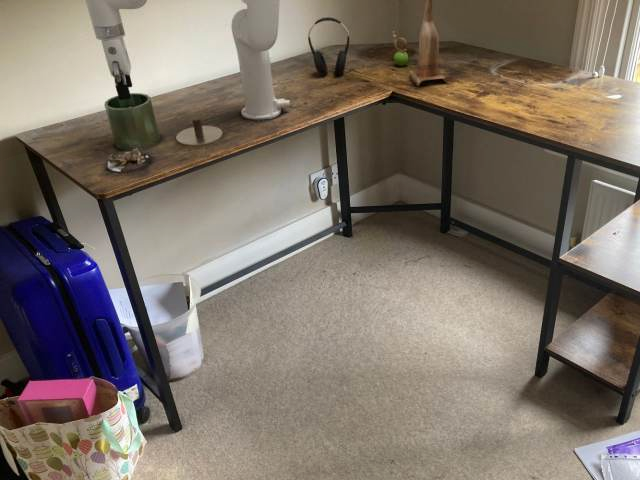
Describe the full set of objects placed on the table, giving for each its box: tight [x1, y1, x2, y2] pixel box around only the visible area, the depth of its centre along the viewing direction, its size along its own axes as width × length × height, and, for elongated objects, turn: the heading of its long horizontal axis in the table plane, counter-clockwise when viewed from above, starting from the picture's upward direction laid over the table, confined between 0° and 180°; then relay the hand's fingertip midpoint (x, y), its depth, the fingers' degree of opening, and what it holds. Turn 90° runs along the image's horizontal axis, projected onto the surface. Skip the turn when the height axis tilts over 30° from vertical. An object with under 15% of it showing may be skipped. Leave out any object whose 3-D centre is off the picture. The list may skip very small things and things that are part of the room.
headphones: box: [307, 16, 350, 76], centre depth 232 cm, size 9×15×20 cm, turn 91°
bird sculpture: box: [408, 0, 449, 87], centre depth 222 cm, size 11×12×32 cm
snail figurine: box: [391, 30, 409, 67], centre depth 242 cm, size 5×6×12 cm
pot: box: [103, 92, 161, 151], centre depth 190 cm, size 13×13×12 cm
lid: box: [175, 117, 224, 147], centre depth 193 cm, size 14×14×6 cm
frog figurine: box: [107, 148, 149, 173], centre depth 181 cm, size 12×12×4 cm
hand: (126, 92), depth 185 cm, fingers open, 9 cm apart
